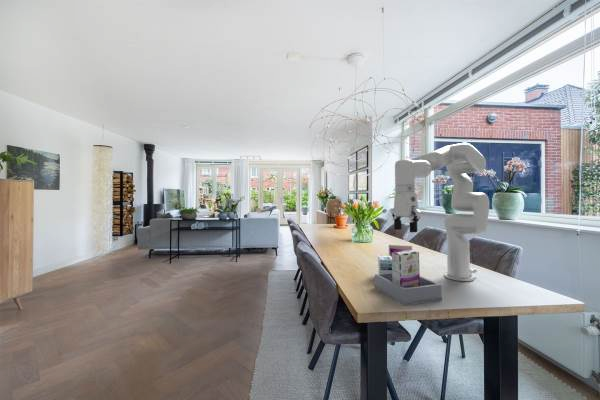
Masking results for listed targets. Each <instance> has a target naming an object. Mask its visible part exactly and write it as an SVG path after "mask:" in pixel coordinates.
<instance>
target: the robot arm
mask: <svg viewBox="0 0 600 400" xmlns="http://www.w3.org/2000/svg"><path fill="white" fill-rule="evenodd" d="M444 167H446V170H447V172H448V174H449V176H450V178H451V179H452V182H453V186H452V194H451V201H450V206H451V209H452V210H453V211H454V212H460V213H451V214H448V215H447V216H445V219H444V228H445V233H446V249H447V250H446V258H447V259H446V260H447V263H446V264H447V266H446V267H447V268H446V269H447V271H446V272H444V273H443V276H444V278H447V279H449V280H452V281H458V282H471V281H474V279H475V277H474V276H473V275H472V274H476V273H478V270H477V269H476V268H471V264H470V263H471V262H470V261H471V260H470V257H471V255H470V253H471V252H470V251H471V250H470V247H471V245H470V244H471V243H470V241H469V238H468V237H467V235H473V236H482V235H483V234H485V233H486V231H487V226H488V220H489V214H490V205H491V204H490V203H491V202H490V199H489V196H488V195H487V194H486V193H484V192H480V191H479V192H476V191H475V192H474V182H473V180H472V178H470V177H469V176H468V174H475V173H476V174H478V173H481V172H483V171H484V170H485V169H486V167H487V161H486V158H485V157H484V155H483V154H482V153H481V152H480V151H479V150H478V149H477V148H476V147H474V145H472V144H471V143H468V142H462V143H456V144H455V143H454V144H450V145H445V146H444V147H440V148H438V149H436V150H434V151H432V152H428V153H425V154H422V155H420V156H417V157H413V158H411V159H399V160H396V162H395V163H394V191H395V192H394V202H393V208H392V209H391V216H392V220H393V227H394V228H393V229H394V230H402V220H401V219H402V218H408V220H409V221H410V222H409V232H410V233H418V223H419V220H420V219H421V215H422V211H421V210H420V209H419V203H418V196H417V193H416V192H415V189H416V186H415V184H416V183H415V179H424V178H427V177H428V176H429V175H430V174H431V173H432V172H433V171H438V170H440V169H442V168H444ZM466 213H469V214H466ZM470 213H471V214H470ZM472 213H473V214H472Z"/></svg>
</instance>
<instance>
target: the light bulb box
mask: <svg viewBox="0 0 600 400" xmlns="http://www.w3.org/2000/svg"><path fill="white" fill-rule="evenodd" d="M377 259H378V264H377V265H378V267H377V268H378V274H383V273H392V256H389V255H383V254H382V255H381V254H380V255H379V254H378V256H377Z"/></svg>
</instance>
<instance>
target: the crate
mask: <svg viewBox="0 0 600 400" xmlns="http://www.w3.org/2000/svg"><path fill="white" fill-rule="evenodd" d="M374 288H375V289H376V290H378V291H379V292H381V293H383V294H384V295H386V296H388V297H390V298H391V299H393V300H394V301H397V302H398V303H399V304H400V305H403V306H410V305H411V306H412V305H417V304H423V303H424V304H425V303H430V302H431V303H432V302H437V301H442V300H443V291H442V284H441V283H439V282H436V281H434V280H430V279H428V278H425V277H424V276H421V275H420V286H419V287H411V288H403V287H401V286H399V285H397V284H395V283H393V282H392V273H383V274H379V273H375V274H374Z"/></svg>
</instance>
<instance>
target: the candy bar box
mask: <svg viewBox="0 0 600 400" xmlns="http://www.w3.org/2000/svg"><path fill="white" fill-rule="evenodd" d="M420 272H421V271H420V251H419V250H413V249H412V250H406V251H399V252H393V253H392V282H393V283H395V284H397V285H399V286H401V287H403V288H411V287H419V286H420V276H421V274H420Z"/></svg>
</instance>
